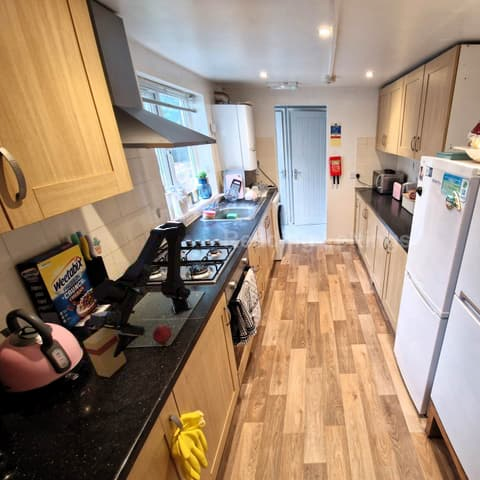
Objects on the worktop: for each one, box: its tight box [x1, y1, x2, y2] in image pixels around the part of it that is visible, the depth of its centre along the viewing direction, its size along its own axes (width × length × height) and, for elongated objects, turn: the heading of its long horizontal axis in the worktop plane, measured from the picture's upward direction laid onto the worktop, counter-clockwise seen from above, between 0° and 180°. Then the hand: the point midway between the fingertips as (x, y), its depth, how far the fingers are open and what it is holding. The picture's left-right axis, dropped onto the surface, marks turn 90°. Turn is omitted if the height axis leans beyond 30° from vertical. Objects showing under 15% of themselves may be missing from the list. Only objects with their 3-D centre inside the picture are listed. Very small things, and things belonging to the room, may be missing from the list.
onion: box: [152, 323, 172, 344], centre depth 97 cm, size 6×6×8 cm
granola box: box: [82, 328, 127, 378], centre depth 85 cm, size 4×7×14 cm
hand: (102, 354), depth 84 cm, fingers open, 9 cm apart
